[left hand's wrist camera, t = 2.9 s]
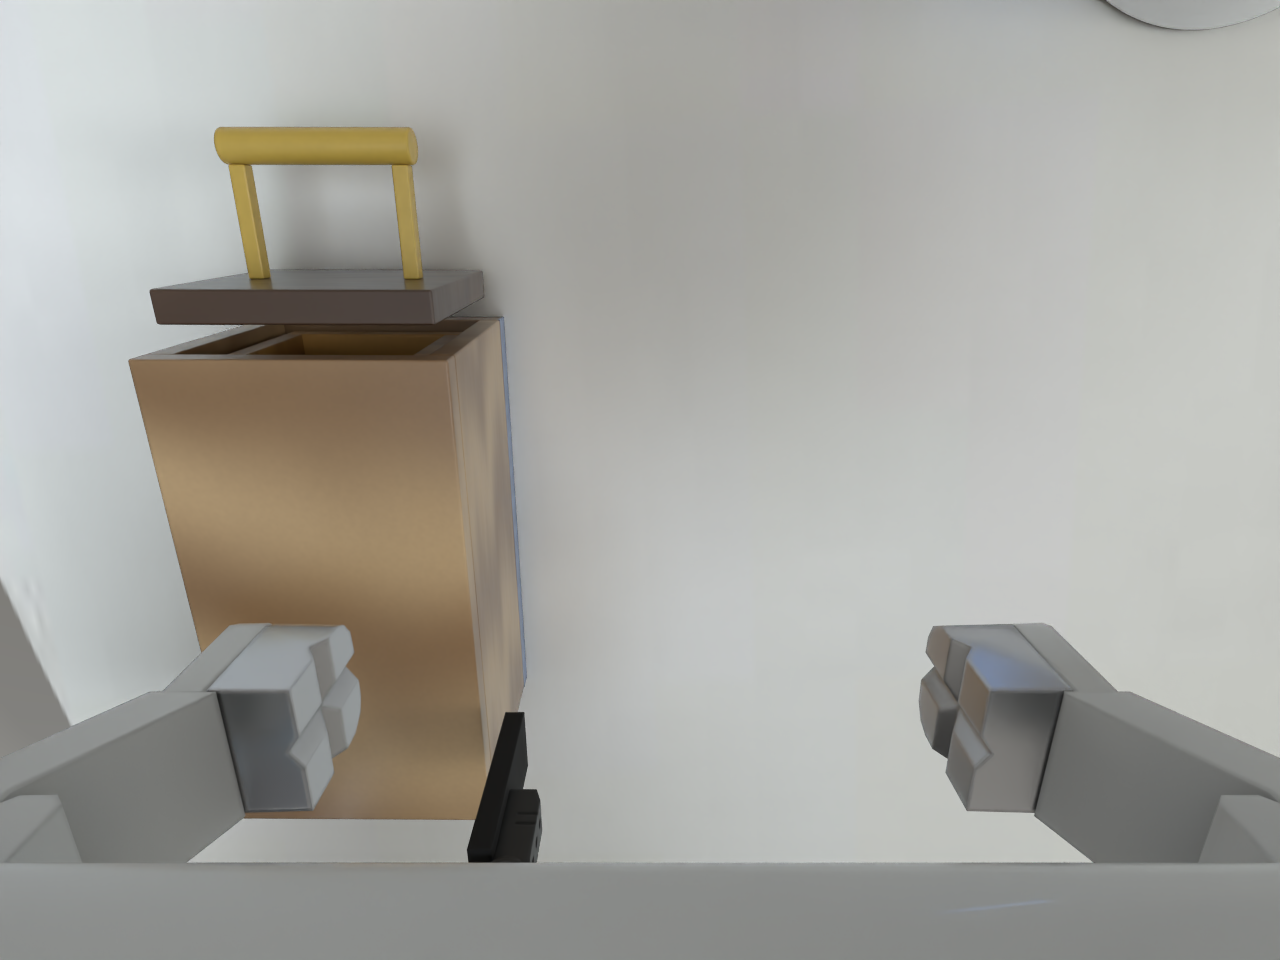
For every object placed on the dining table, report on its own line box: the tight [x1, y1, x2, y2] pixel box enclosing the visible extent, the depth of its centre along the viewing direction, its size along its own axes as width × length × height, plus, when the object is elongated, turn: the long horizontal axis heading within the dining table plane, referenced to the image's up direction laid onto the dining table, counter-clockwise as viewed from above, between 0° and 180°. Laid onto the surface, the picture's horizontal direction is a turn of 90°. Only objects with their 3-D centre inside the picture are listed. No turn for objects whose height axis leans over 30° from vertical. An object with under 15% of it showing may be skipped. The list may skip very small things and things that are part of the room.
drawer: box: [150, 127, 484, 355], centre depth 31 cm, size 24×10×8 cm, turn 0°
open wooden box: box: [128, 317, 527, 820], centre depth 33 cm, size 20×11×10 cm, turn 0°
